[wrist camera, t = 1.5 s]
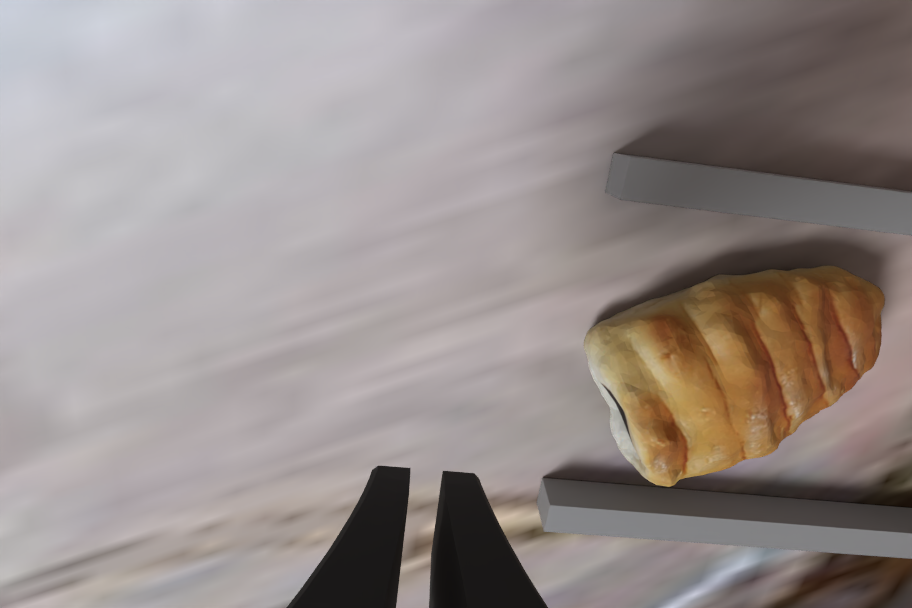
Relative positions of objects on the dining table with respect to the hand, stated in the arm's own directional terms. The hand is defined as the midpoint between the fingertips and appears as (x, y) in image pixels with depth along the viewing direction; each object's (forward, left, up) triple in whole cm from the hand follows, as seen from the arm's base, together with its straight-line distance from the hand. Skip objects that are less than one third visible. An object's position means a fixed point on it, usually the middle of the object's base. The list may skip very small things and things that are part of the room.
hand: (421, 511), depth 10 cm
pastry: (0, -10, -9) cm, 13 cm away
